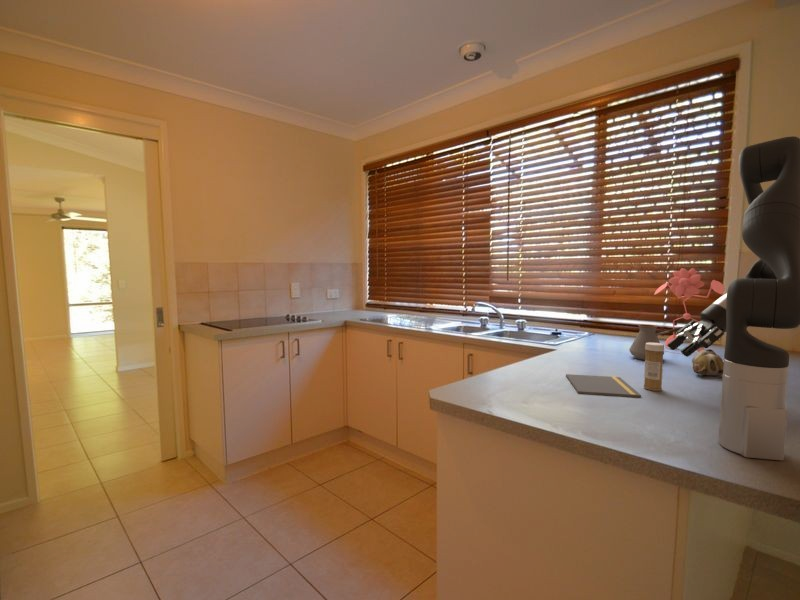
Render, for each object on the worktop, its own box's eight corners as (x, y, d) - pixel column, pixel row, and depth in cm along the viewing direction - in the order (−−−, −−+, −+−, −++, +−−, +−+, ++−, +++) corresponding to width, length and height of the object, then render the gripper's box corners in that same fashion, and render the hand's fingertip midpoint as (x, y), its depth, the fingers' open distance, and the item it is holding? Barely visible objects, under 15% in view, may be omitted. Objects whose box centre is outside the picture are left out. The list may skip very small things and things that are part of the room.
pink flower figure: (656, 344, 180) (661, 268, 177) (725, 355, 158) (731, 268, 155) (638, 348, 172) (642, 268, 169) (708, 359, 150) (714, 268, 147)
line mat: (641, 397, 107) (641, 394, 107) (578, 393, 111) (578, 390, 111) (619, 379, 125) (619, 376, 125) (565, 376, 128) (566, 373, 128)
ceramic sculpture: (723, 345, 134) (739, 357, 120) (721, 370, 135) (737, 384, 122) (685, 343, 138) (697, 354, 125) (683, 367, 139) (695, 380, 126)
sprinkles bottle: (664, 389, 114) (667, 343, 113) (657, 392, 111) (659, 345, 110) (647, 385, 118) (650, 341, 117) (640, 388, 115) (642, 343, 114)
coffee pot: (624, 358, 153) (626, 319, 152) (635, 353, 161) (637, 317, 159) (690, 368, 137) (692, 326, 136) (699, 363, 144) (701, 323, 143)
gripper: (701, 300, 116) (656, 337, 120) (730, 304, 102) (678, 346, 106) (721, 318, 115) (674, 355, 119) (752, 325, 102) (699, 366, 105)
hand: (676, 351), depth 112 cm, fingers open, 8 cm apart
